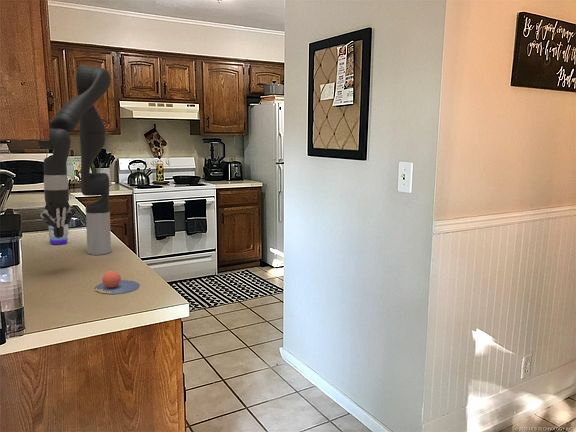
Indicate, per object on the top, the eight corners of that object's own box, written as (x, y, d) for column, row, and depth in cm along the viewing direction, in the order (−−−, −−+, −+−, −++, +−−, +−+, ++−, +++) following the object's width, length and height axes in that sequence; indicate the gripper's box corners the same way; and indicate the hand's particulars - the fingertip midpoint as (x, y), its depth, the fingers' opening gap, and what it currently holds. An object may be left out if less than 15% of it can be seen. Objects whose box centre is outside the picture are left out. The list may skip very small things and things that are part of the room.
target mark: (95, 282, 161) (95, 281, 161) (139, 279, 165) (139, 279, 165) (92, 296, 147) (92, 295, 147) (140, 292, 152) (140, 291, 152)
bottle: (48, 245, 209) (46, 206, 206) (51, 242, 214) (48, 204, 211) (66, 244, 211) (64, 206, 208) (68, 242, 216) (66, 204, 213)
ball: (121, 278, 153) (116, 293, 154) (123, 270, 158) (119, 284, 159) (103, 274, 151) (98, 289, 153) (106, 266, 156) (102, 280, 158)
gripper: (45, 190, 155) (48, 242, 158) (80, 187, 166) (82, 235, 169) (31, 188, 159) (34, 239, 162) (66, 185, 170) (69, 233, 173)
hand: (59, 237), depth 165 cm, fingers closed
